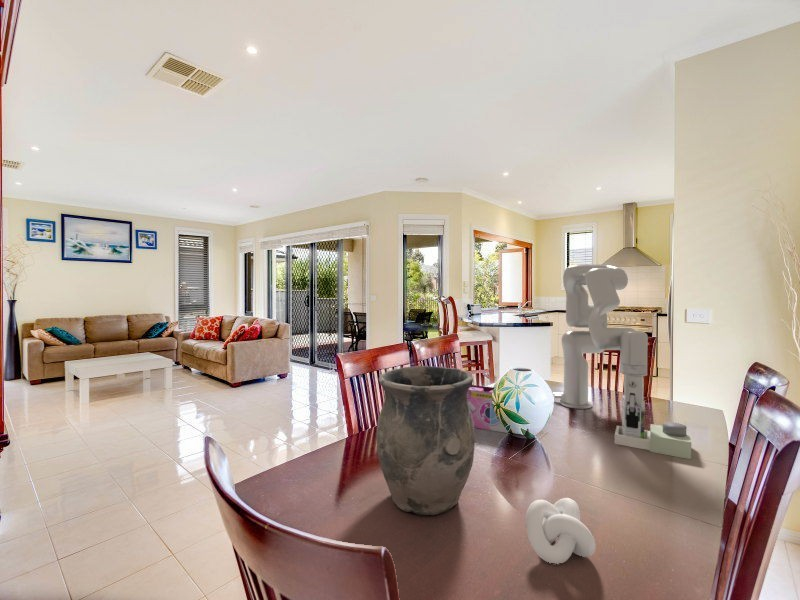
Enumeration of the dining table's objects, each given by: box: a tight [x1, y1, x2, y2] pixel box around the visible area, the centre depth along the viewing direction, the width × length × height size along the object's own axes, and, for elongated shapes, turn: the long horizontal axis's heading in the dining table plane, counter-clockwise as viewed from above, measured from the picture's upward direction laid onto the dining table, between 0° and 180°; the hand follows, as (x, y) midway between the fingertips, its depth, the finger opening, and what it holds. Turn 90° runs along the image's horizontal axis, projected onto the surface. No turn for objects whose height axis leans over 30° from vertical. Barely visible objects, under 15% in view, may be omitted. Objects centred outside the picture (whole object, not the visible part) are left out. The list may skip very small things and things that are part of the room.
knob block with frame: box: [614, 421, 692, 460], centre depth 124 cm, size 20×12×8 cm, turn 57°
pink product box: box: [467, 384, 509, 434], centre depth 140 cm, size 24×8×14 cm, turn 62°
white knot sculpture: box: [525, 497, 597, 565], centre depth 74 cm, size 11×12×9 cm
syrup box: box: [621, 394, 646, 439], centre depth 127 cm, size 6×6×14 cm
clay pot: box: [375, 365, 476, 516], centre depth 92 cm, size 22×23×30 cm
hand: (632, 423), depth 126 cm, fingers open, 7 cm apart
